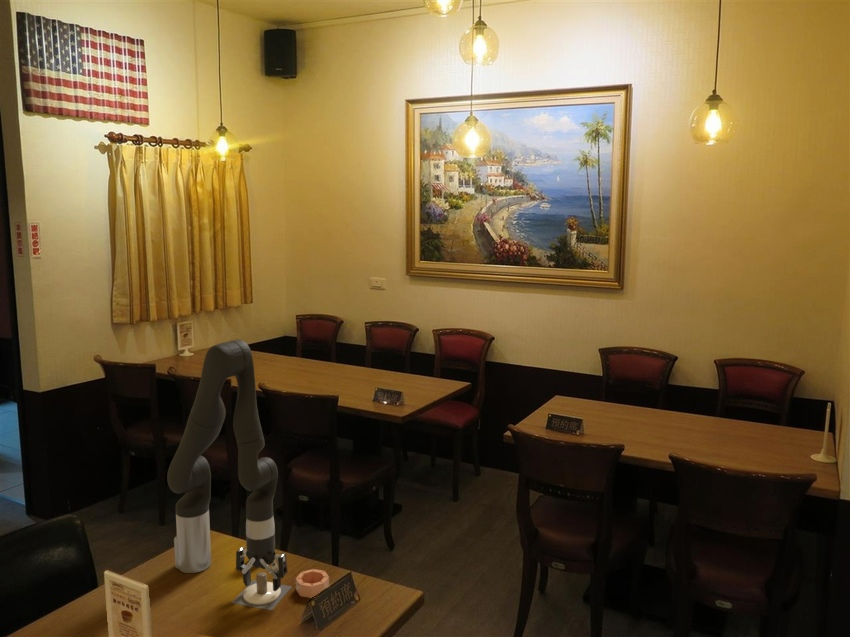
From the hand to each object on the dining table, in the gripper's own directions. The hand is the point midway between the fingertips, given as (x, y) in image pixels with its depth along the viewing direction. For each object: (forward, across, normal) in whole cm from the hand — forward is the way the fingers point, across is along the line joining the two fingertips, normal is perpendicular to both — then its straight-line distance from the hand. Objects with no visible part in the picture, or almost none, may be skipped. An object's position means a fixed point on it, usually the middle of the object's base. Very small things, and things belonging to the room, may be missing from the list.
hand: (262, 587), depth 189 cm
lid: (+2, 0, 0) cm, 2 cm away
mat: (+3, 0, 0) cm, 3 cm away
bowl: (+3, +12, +6) cm, 14 cm away
